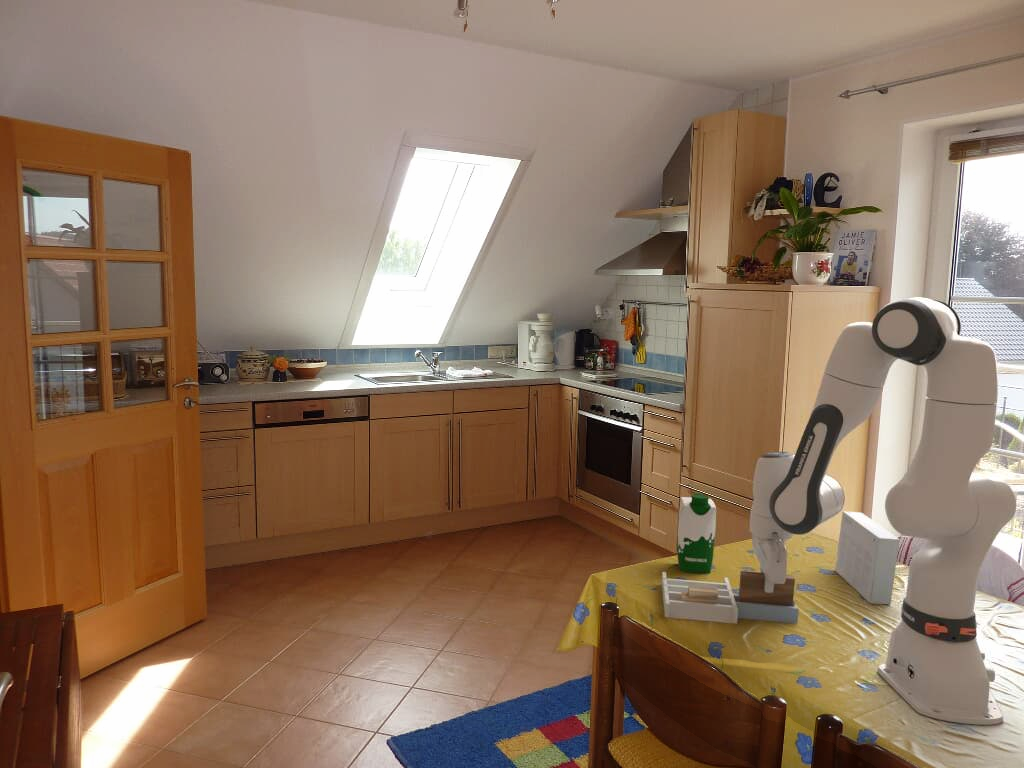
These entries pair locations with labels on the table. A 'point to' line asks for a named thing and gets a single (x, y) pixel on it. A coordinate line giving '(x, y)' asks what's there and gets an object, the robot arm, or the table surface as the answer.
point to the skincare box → (867, 557)
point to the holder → (767, 611)
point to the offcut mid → (686, 598)
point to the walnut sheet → (754, 591)
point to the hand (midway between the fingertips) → (766, 587)
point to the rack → (698, 611)
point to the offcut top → (703, 592)
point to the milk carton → (696, 534)
